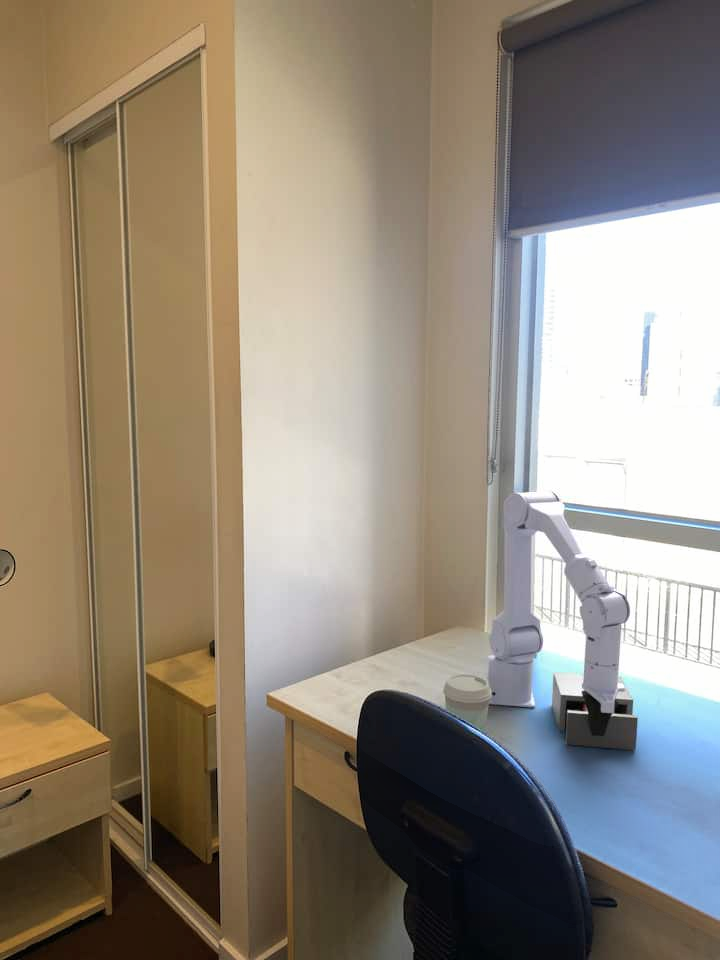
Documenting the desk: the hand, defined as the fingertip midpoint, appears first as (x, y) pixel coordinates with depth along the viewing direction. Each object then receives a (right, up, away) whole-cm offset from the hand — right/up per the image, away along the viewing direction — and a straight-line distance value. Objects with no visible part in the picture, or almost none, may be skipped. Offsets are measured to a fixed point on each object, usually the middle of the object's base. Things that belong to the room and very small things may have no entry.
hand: (597, 734), depth 127 cm
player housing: (+3, -2, +13) cm, 13 cm away
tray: (+2, -2, +7) cm, 8 cm away
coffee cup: (-23, -3, +2) cm, 23 cm away
